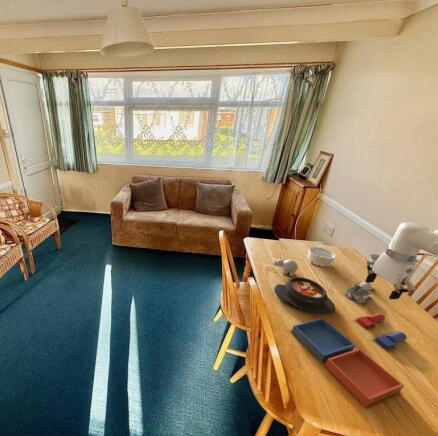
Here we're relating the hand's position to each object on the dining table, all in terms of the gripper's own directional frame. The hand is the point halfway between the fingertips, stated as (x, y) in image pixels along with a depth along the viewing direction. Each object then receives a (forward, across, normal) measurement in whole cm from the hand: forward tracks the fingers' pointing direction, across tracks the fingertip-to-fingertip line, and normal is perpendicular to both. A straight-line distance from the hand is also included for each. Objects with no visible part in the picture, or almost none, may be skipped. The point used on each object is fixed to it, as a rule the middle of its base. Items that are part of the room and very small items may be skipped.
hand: (380, 290), depth 92 cm
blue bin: (+18, -8, +26) cm, 33 cm away
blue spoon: (+17, -10, -2) cm, 20 cm away
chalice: (+18, +20, -22) cm, 35 cm away
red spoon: (+18, -1, -3) cm, 18 cm away
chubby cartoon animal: (+18, +36, +14) cm, 42 cm away
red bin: (+17, -22, +24) cm, 37 cm away
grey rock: (+18, +14, -11) cm, 25 cm away
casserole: (+18, +14, +18) cm, 29 cm away
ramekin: (+18, +43, -14) cm, 49 cm away
